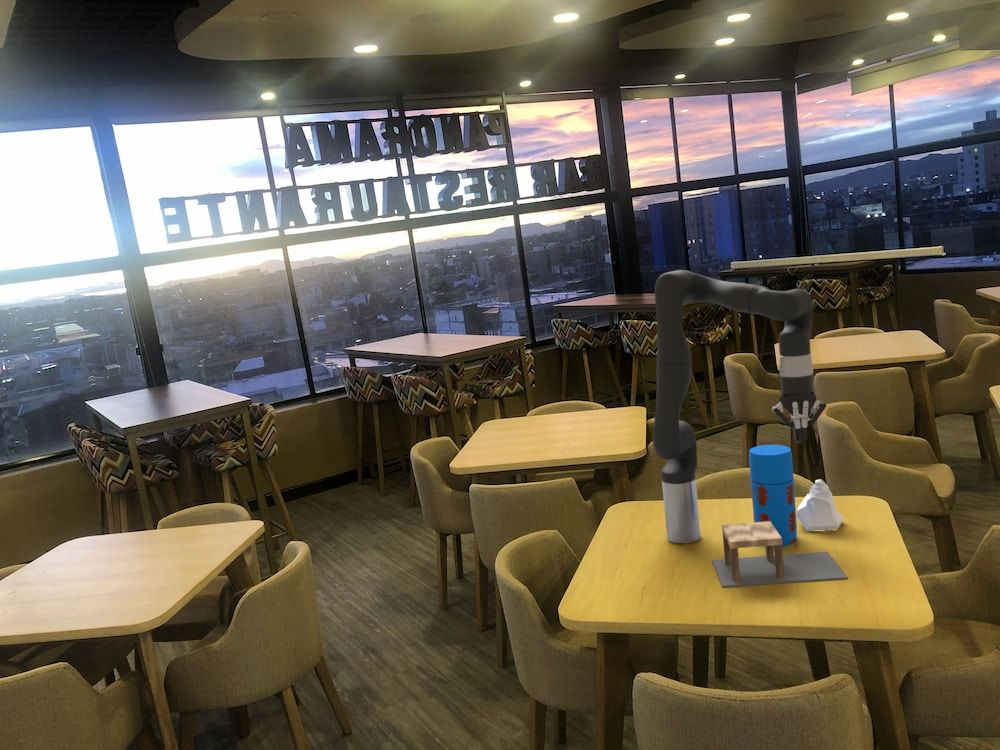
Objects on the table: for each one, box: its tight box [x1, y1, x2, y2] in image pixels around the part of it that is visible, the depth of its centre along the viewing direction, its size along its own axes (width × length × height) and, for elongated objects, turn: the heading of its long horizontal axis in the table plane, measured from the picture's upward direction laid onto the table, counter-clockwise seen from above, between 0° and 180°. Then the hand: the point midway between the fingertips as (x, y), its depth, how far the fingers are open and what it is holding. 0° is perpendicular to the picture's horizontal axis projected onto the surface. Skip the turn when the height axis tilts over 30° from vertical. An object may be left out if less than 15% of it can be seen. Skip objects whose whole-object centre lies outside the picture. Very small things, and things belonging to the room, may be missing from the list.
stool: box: [721, 521, 785, 581], centre depth 199 cm, size 12×10×12 cm
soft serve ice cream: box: [796, 478, 845, 532], centre depth 224 cm, size 12×15×14 cm
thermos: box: [748, 444, 798, 547], centre depth 217 cm, size 11×11×25 cm
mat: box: [711, 551, 849, 588], centre depth 199 cm, size 16×29×1 cm, turn 84°
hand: (800, 442), depth 197 cm, fingers closed
